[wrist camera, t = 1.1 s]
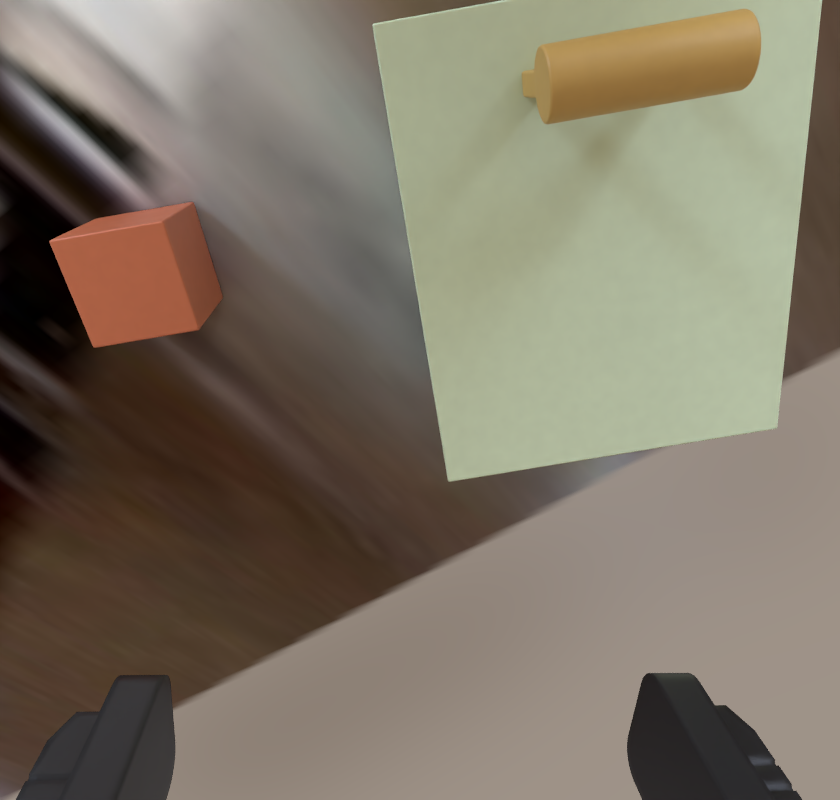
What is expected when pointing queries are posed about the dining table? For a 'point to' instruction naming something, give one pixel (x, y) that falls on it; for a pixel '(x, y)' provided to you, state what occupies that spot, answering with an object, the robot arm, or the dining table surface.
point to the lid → (600, 217)
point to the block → (139, 274)
